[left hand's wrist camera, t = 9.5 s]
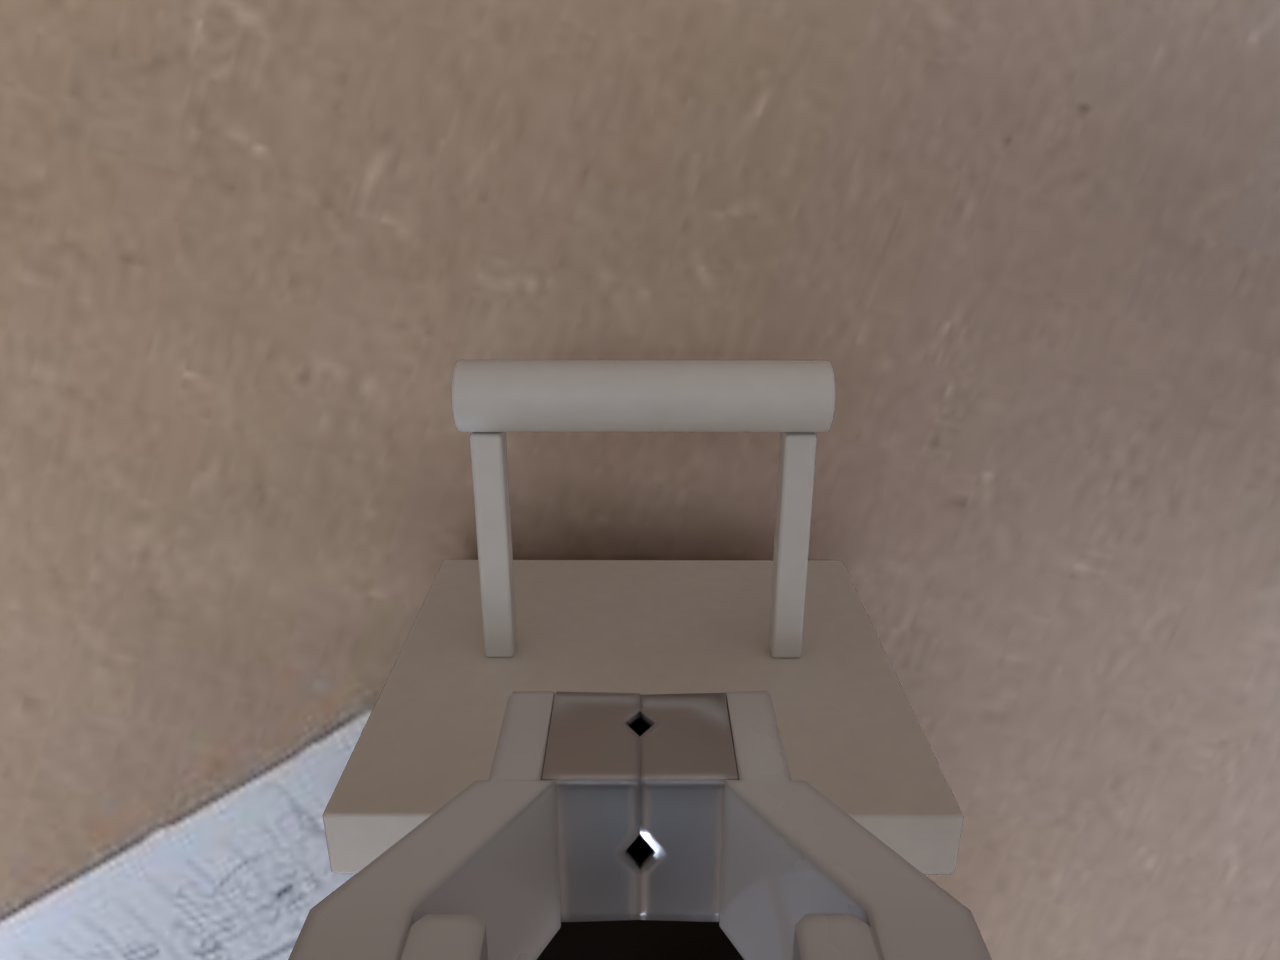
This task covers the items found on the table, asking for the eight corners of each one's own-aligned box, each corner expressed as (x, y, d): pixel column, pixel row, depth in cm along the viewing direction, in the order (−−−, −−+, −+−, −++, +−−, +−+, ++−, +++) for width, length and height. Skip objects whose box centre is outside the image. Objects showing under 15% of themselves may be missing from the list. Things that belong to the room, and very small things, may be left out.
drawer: (422, 316, 20) (261, 444, 12) (863, 317, 20) (1026, 444, 12) (483, 1029, 28) (414, 1414, 20) (799, 1030, 28) (868, 1416, 20)
